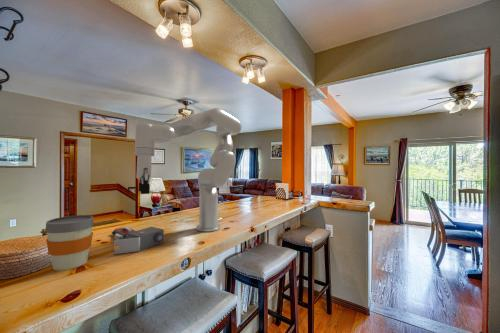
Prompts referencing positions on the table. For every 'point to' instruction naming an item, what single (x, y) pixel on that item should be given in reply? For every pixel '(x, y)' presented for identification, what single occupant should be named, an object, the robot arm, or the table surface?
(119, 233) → the walkie-talkie
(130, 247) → the side door
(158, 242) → the camera body
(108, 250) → the table surface
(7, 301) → the table surface
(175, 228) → the table surface
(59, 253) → the reusable coffee cup
